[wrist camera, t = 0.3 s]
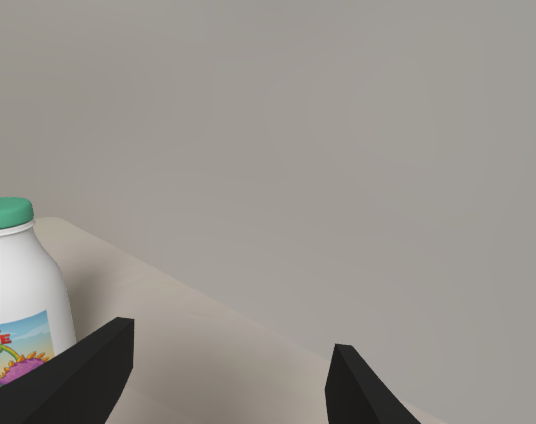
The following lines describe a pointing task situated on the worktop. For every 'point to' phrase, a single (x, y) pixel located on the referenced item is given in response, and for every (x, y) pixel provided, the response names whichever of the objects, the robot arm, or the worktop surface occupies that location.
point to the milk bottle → (29, 296)
